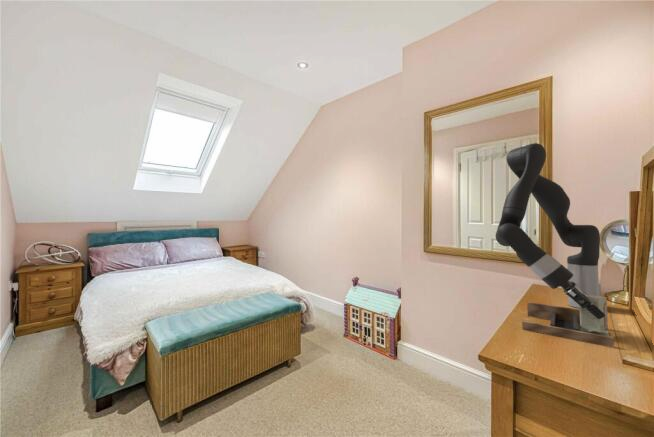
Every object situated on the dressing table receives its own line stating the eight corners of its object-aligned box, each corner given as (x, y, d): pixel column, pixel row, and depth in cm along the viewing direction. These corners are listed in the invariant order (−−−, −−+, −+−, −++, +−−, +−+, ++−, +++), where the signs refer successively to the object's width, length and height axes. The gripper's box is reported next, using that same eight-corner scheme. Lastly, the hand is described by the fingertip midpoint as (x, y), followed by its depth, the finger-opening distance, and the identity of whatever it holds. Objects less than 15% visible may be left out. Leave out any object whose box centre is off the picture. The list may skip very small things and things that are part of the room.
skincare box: (608, 331, 82) (608, 297, 83) (600, 333, 81) (599, 298, 81) (587, 325, 87) (586, 293, 88) (578, 326, 86) (578, 294, 86)
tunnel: (522, 329, 89) (522, 313, 89) (527, 315, 102) (527, 301, 102) (613, 347, 75) (613, 329, 75) (606, 328, 88) (605, 313, 89)
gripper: (560, 266, 84) (617, 313, 76) (560, 261, 95) (610, 302, 87) (538, 281, 87) (591, 328, 79) (541, 274, 98) (588, 315, 90)
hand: (601, 314), depth 83 cm, fingers closed on skincare box, 6 cm apart
